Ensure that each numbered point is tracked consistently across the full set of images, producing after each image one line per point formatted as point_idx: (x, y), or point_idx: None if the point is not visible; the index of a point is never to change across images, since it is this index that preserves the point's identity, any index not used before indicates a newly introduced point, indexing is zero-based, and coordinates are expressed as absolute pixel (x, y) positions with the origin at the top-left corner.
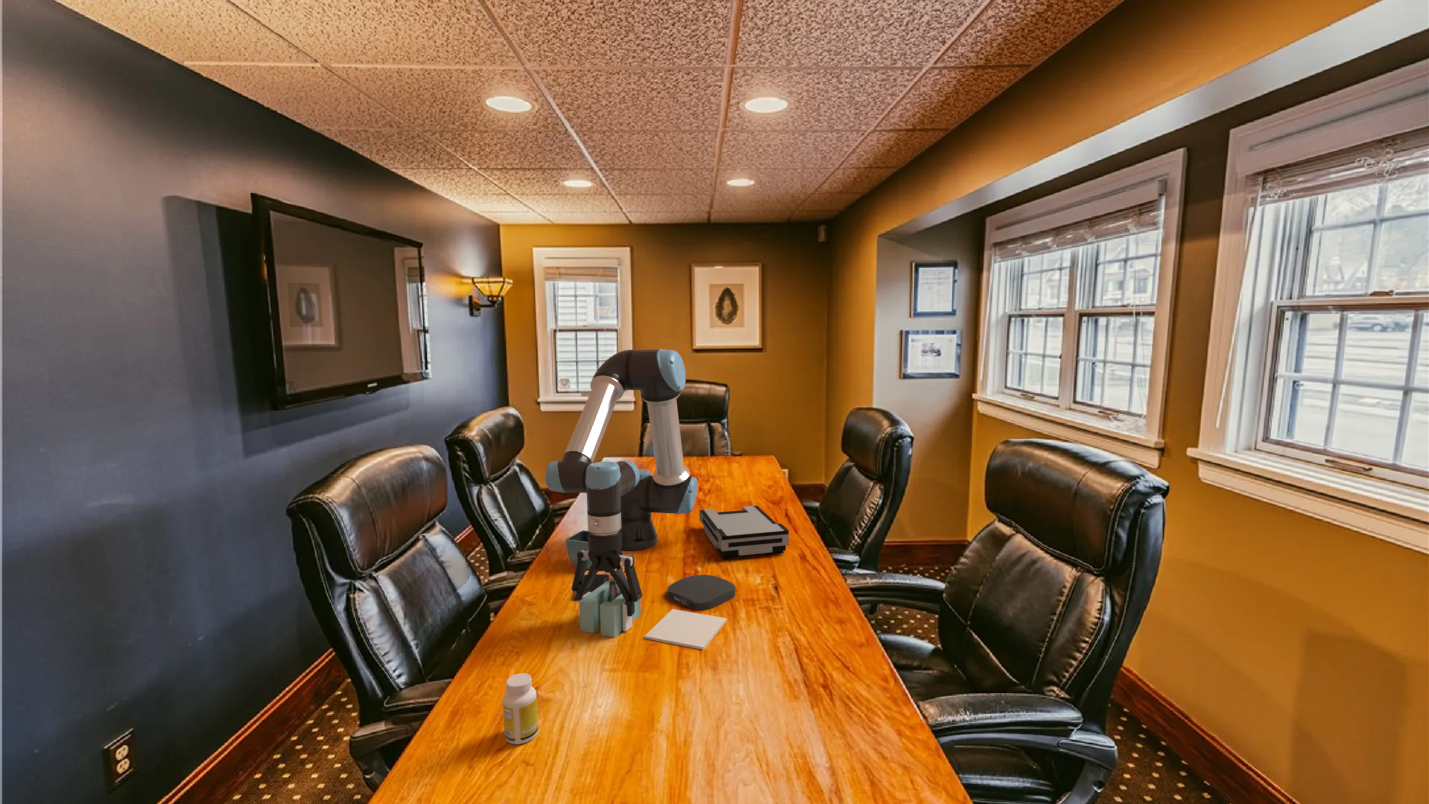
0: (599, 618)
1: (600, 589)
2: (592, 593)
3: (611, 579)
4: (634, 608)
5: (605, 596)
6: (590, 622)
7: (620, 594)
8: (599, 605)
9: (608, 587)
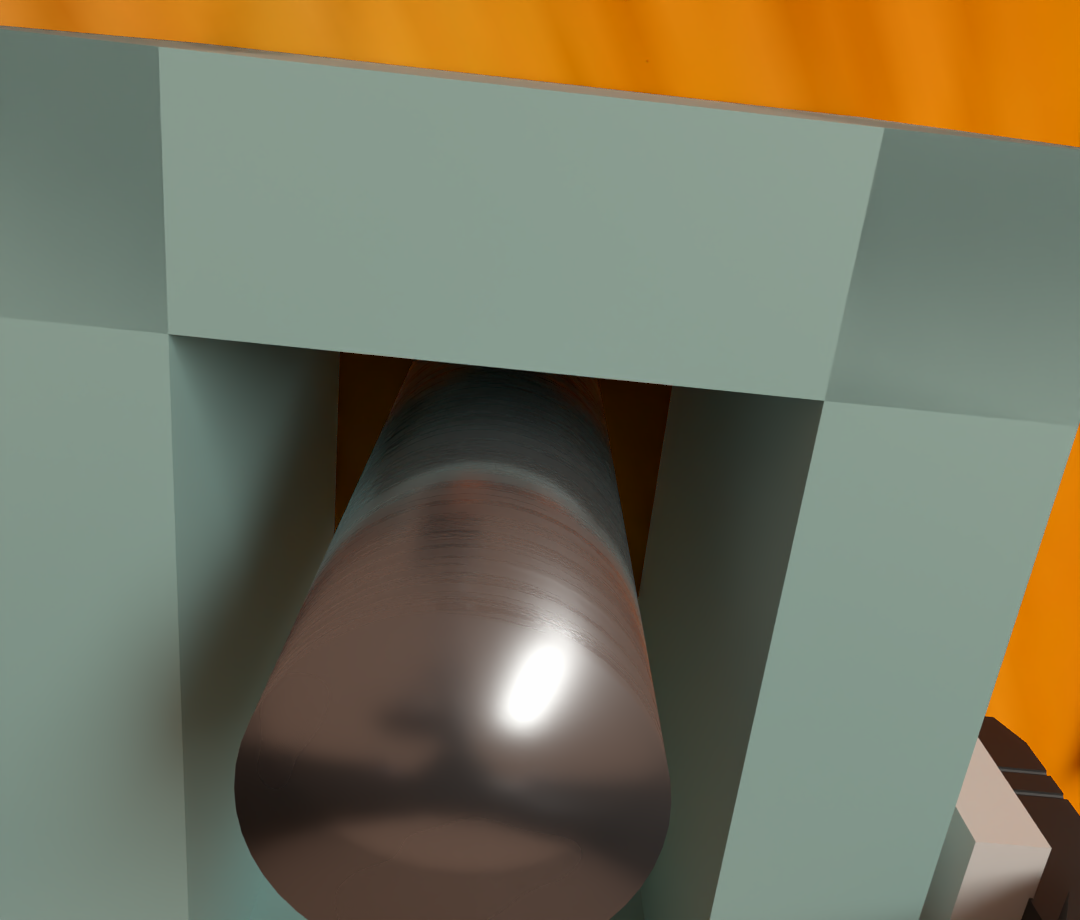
0: (321, 561)
1: (74, 648)
2: (36, 878)
3: (320, 804)
4: (1058, 795)
5: (240, 498)
6: None
7: (618, 501)
8: (269, 668)
9: (183, 422)
